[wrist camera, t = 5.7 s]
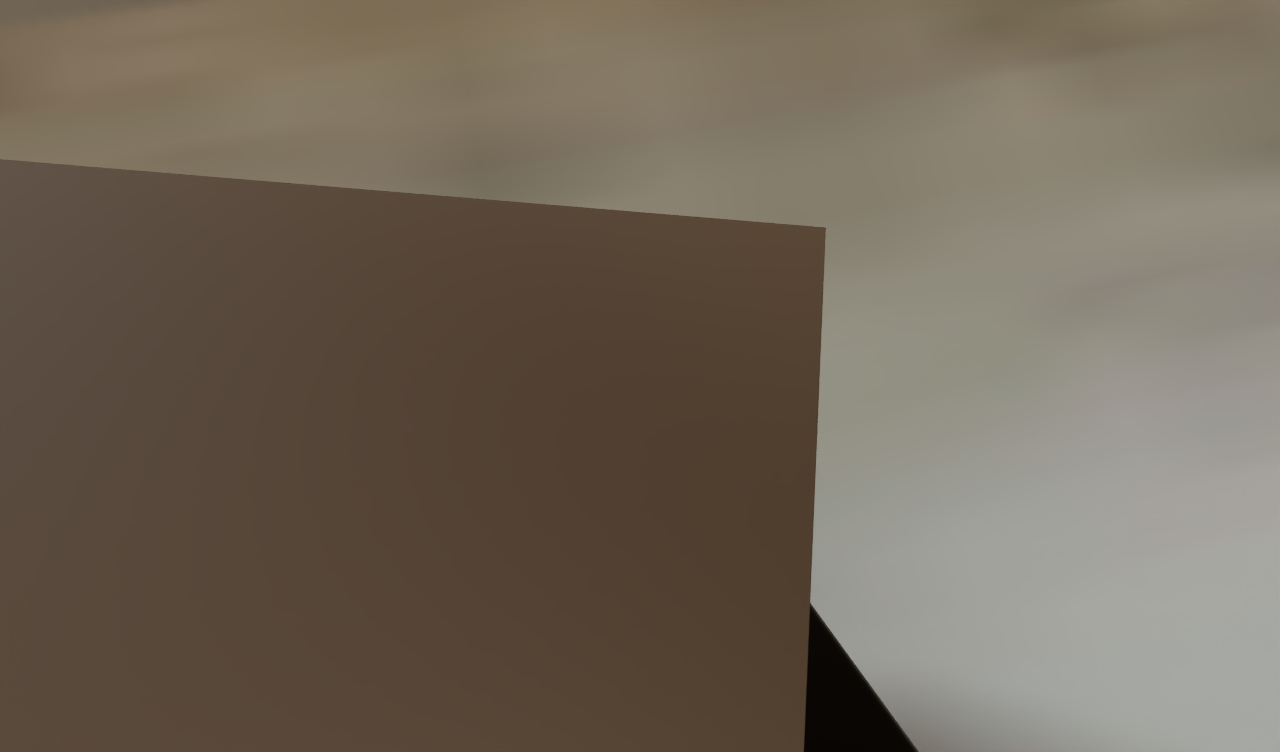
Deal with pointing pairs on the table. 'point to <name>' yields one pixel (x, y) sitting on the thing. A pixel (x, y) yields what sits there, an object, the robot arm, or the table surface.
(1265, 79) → the table surface
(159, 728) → the walnut post
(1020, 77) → the table surface
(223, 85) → the table surface
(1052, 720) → the table surface
